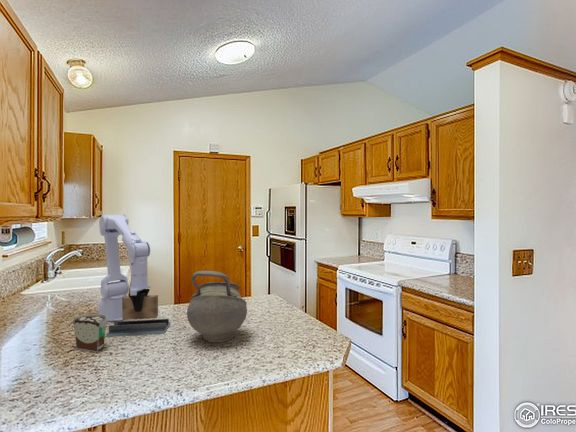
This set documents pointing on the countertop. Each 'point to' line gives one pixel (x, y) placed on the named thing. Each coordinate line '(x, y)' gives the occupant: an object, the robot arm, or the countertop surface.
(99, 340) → the food container
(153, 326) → the track
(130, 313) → the door panel
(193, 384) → the countertop surface
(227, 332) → the pot
